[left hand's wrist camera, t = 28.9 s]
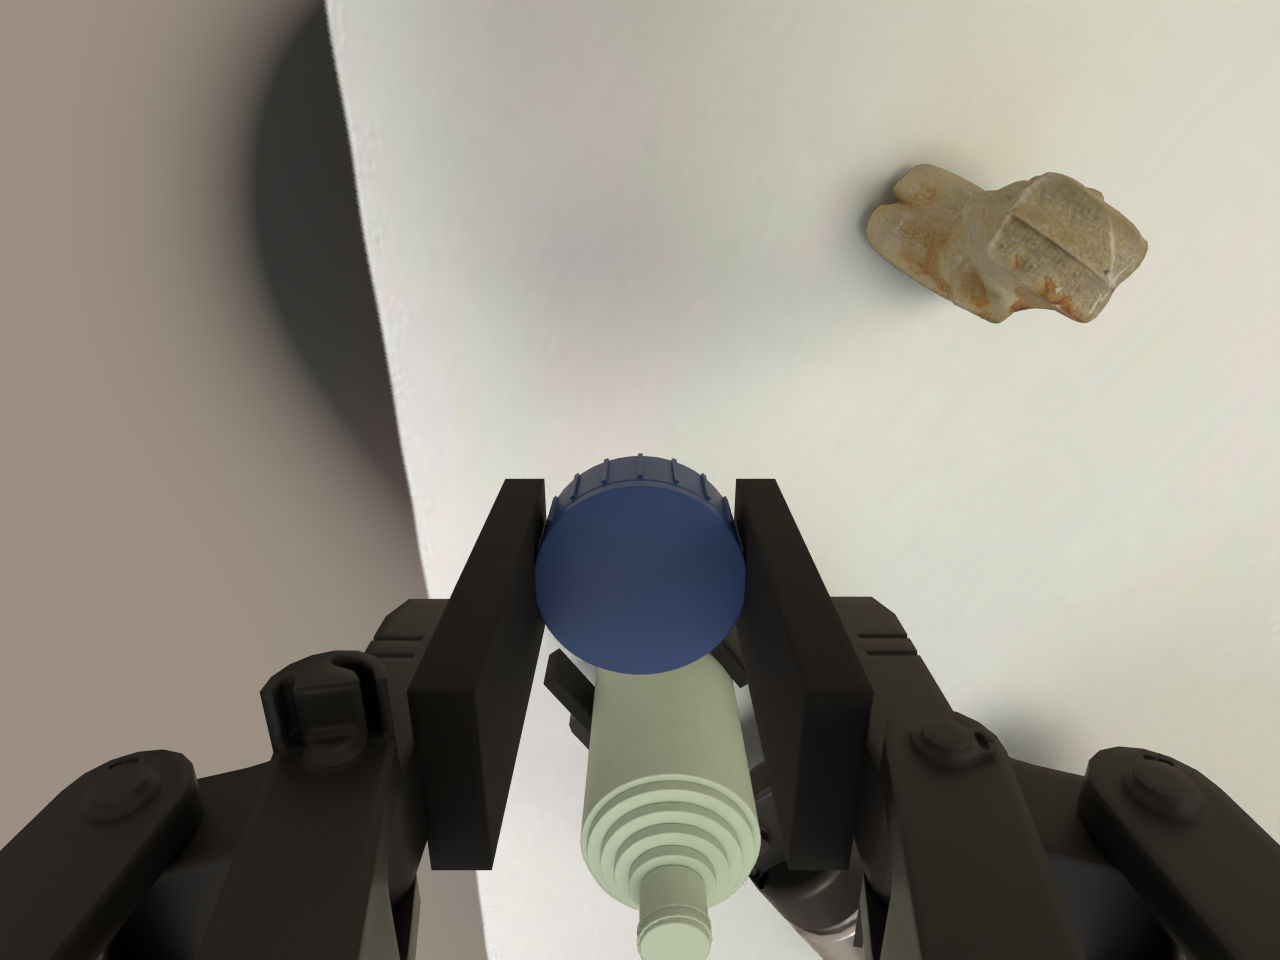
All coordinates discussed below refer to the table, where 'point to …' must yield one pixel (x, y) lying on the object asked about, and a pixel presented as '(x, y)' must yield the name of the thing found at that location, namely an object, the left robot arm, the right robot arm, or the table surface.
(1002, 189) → the sculpture
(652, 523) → the cap
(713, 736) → the bottle
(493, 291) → the table surface
